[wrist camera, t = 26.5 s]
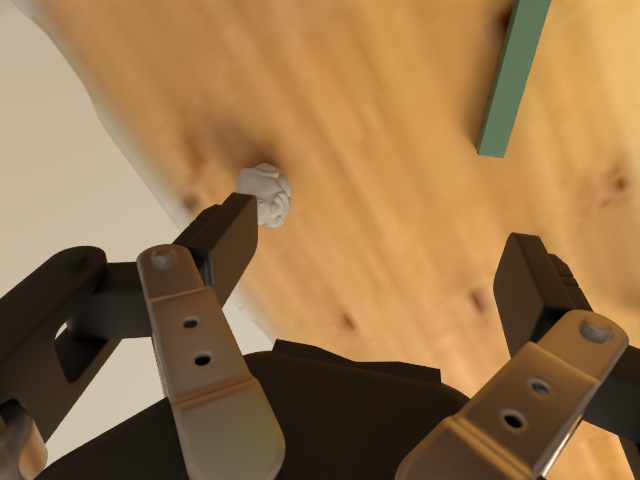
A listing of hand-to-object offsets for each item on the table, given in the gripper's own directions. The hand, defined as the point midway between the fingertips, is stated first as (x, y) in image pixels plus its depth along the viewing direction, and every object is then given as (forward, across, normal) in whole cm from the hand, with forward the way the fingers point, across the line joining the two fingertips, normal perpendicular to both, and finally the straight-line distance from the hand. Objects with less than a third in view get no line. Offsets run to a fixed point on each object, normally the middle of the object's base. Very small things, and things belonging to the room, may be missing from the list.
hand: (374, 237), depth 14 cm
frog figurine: (+32, +12, +13) cm, 37 cm away
